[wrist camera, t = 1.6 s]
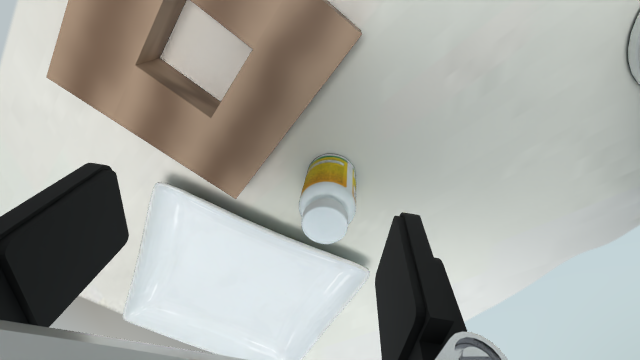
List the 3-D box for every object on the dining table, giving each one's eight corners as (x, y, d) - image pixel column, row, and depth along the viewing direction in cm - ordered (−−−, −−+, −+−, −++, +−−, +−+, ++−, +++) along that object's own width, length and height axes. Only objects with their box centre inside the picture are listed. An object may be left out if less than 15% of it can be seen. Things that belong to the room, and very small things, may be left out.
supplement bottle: (365, 178, 36) (369, 232, 27) (327, 202, 38) (321, 259, 29) (335, 142, 34) (329, 189, 25) (297, 169, 36) (281, 221, 27)
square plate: (134, 301, 50) (119, 323, 47) (170, 164, 37) (152, 180, 34) (291, 359, 54) (286, 383, 51) (372, 253, 41) (374, 275, 38)
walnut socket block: (360, 30, 28) (361, 34, 25) (246, 180, 37) (235, 199, 34) (154, -153, 24) (120, -180, 20) (79, 68, 32) (46, 77, 29)
